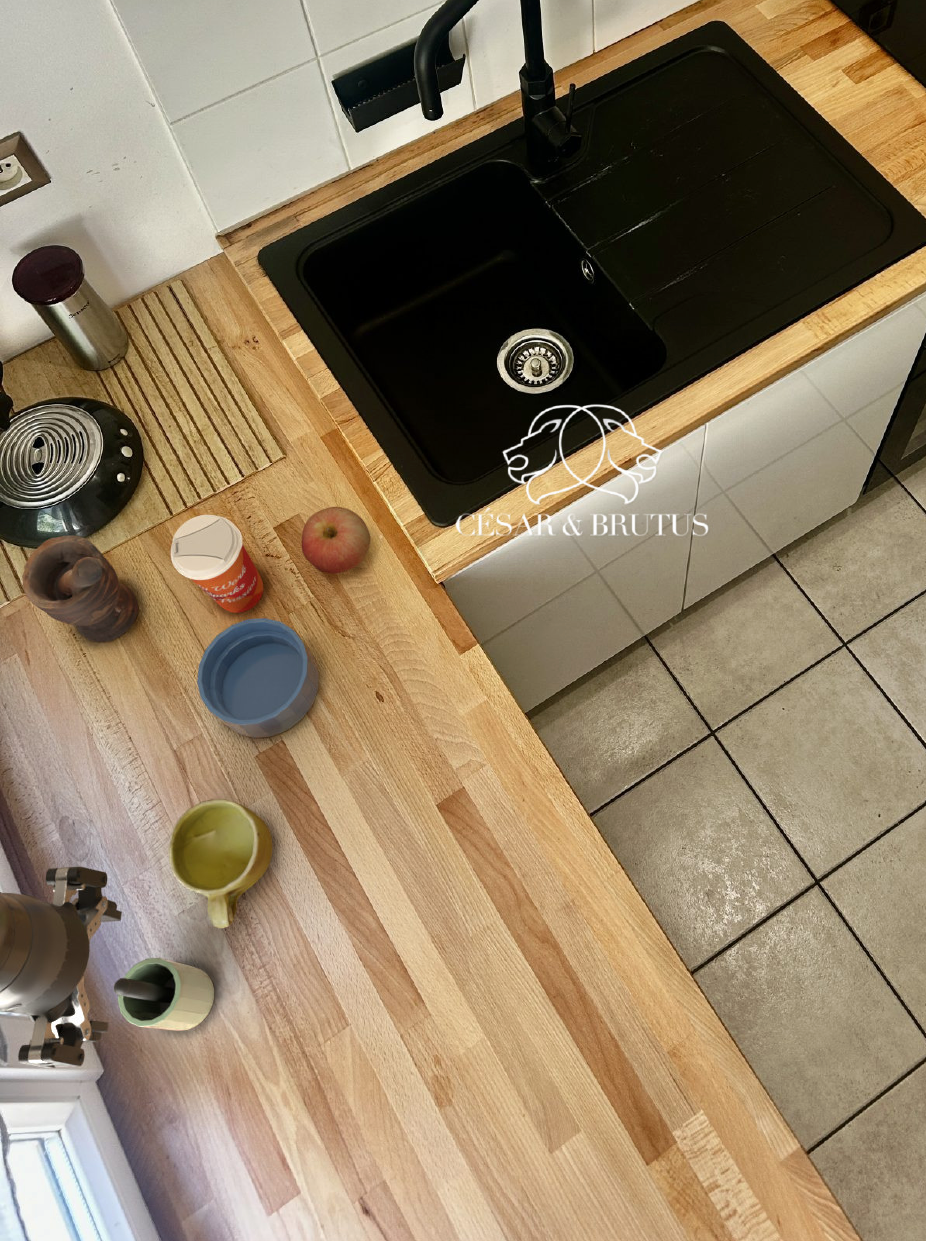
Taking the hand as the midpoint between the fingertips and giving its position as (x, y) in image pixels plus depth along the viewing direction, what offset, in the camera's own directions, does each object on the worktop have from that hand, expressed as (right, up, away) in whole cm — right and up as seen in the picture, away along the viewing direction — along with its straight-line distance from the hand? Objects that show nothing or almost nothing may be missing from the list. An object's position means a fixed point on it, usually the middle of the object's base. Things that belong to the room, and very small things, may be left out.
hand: (103, 972), depth 96 cm
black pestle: (0, -11, +19) cm, 22 cm away
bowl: (+4, +17, +35) cm, 39 cm away
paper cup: (0, +27, +41) cm, 49 cm away
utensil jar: (0, -11, +20) cm, 23 cm away
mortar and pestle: (-14, +25, +40) cm, 49 cm away
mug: (+3, -1, +26) cm, 26 cm away
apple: (+11, +32, +43) cm, 54 cm away
